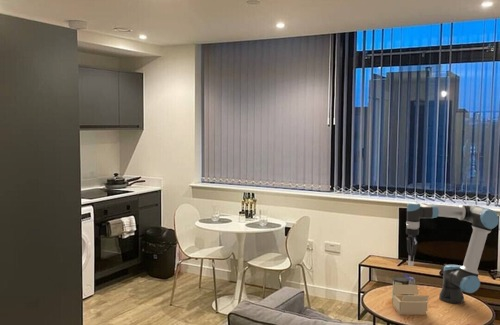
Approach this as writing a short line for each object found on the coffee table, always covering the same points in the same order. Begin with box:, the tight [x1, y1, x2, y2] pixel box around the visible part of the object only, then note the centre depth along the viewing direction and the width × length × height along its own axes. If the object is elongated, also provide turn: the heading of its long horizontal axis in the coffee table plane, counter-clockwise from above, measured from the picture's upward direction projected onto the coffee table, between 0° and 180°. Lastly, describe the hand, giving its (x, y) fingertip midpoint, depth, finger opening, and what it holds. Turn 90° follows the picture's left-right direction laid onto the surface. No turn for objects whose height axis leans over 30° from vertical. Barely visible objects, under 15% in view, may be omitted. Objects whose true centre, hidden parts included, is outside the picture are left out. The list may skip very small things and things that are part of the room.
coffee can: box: [391, 276, 409, 301], centre depth 326 cm, size 10×10×14 cm
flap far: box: [392, 284, 420, 295], centre depth 314 cm, size 15×6×1 cm
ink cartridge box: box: [403, 273, 416, 295], centre depth 335 cm, size 10×6×14 cm, turn 92°
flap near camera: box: [402, 294, 430, 303], centre depth 298 cm, size 15×6×1 cm
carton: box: [392, 295, 428, 316], centre depth 307 cm, size 17×12×8 cm
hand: (410, 265), depth 307 cm, fingers closed
